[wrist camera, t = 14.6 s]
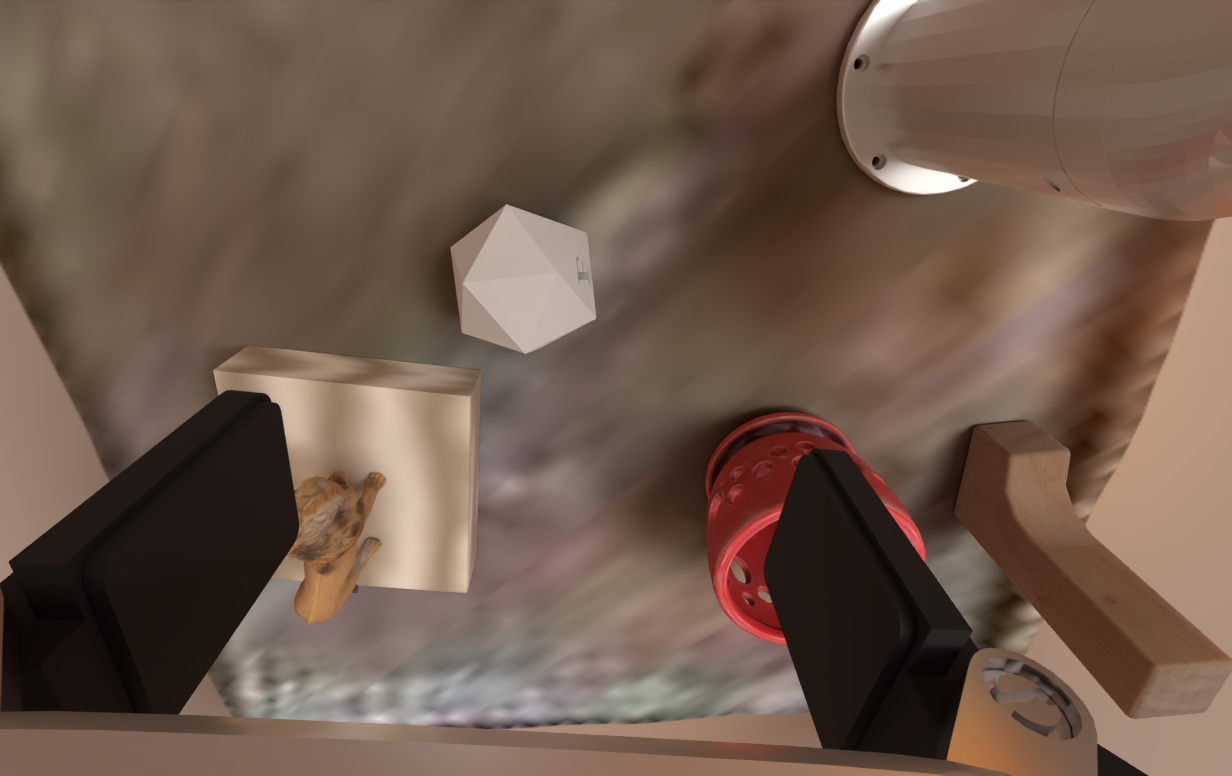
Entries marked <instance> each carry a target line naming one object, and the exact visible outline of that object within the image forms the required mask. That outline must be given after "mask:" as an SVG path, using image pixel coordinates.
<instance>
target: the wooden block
mask: <svg viewBox="0 0 1232 776" xmlns="http://www.w3.org/2000/svg"><path fill="white" fill-rule="evenodd" d="M1069 461H1070V451H1069V450H1068V449H1067V448H1066V447H1065V446H1063V445H1062V444H1061V443H1059V442H1058V441H1057V440H1055V439H1054V438H1053V437H1051V436H1050V435H1049V434H1047V433H1046V432H1045V431H1043V430H1042V429H1041V428H1039V427H1038V426H1037V425H1035V424H1034V423H1033V422H1030V421H1017V422H1007V423H997V424H986V425H978V426H975V428H974V430H973V434H972V438H971V442H970V447H969V451H968V455H967V459H966V463H965V468H964V472H963V476H962V480H961V485H960V489H959V493H958V497H957V501H956V506H955V510H954V512H955V515H956V517H957V518H958V519H959V520H960V521H961V522H962V524H963V525H964V526H965V527H966V528H967V529H968V531H969V532H970V533H971V534H972V535H973V536H974V538H975V539H976V540H977V541H978V542H979V543H980V545H981V546H982V547H983V548H984V549H985V550H986V552H987V553H988V554H989V555H990V556H991V558H992V559H993V560H994V561H995V562H996V563H997V565H998V566H999V567H1000V568H1001V569H1002V570H1003V572H1004V573H1005V574H1006V575H1007V576H1008V577H1009V579H1010V580H1011V581H1012V582H1013V583H1014V584H1015V586H1016V587H1017V588H1018V589H1019V590H1020V591H1021V593H1022V594H1023V595H1024V596H1025V597H1026V598H1027V600H1028V601H1029V602H1030V603H1031V604H1032V606H1033V607H1034V608H1035V609H1036V610H1037V611H1038V613H1039V614H1040V615H1041V616H1042V617H1043V618H1044V620H1045V621H1046V622H1047V623H1048V624H1049V625H1050V626H1051V628H1052V629H1053V630H1054V631H1055V632H1056V634H1058V636H1059V637H1060V638H1061V639H1062V641H1063V642H1064V643H1065V644H1066V645H1067V646H1068V648H1069V649H1070V650H1071V651H1072V652H1073V653H1074V655H1075V656H1076V657H1077V658H1078V659H1079V661H1080V662H1081V663H1082V664H1083V665H1084V666H1085V667H1086V669H1087V670H1088V671H1089V672H1090V673H1091V675H1092V676H1093V677H1094V678H1095V679H1096V680H1097V682H1098V683H1099V684H1100V685H1101V686H1102V687H1103V689H1104V690H1105V691H1106V692H1107V693H1108V694H1109V696H1110V697H1111V698H1112V699H1113V700H1114V701H1115V703H1116V704H1117V705H1118V706H1119V707H1120V708H1121V710H1122V711H1123V712H1124V713H1125V714H1126V715H1127V716H1129V717H1130V718H1134V719H1137V718H1149V717H1160V716H1172V715H1182V714H1195V713H1202V712H1205V711H1206V710H1207V709H1208V708H1209V706H1210V705H1211V703H1212V702H1213V700H1214V698H1215V697H1216V695H1217V694H1218V692H1219V691H1220V689H1221V687H1222V686H1223V684H1224V683H1225V681H1226V680H1227V678H1228V676H1229V675H1230V673H1231V672H1232V659H1231V658H1230V657H1229V656H1228V655H1227V654H1226V653H1224V652H1223V651H1222V650H1221V649H1220V648H1219V647H1218V646H1217V645H1215V644H1214V643H1213V642H1212V641H1211V640H1210V639H1209V638H1208V637H1206V636H1205V635H1204V634H1203V633H1202V632H1201V631H1200V630H1199V629H1197V628H1196V627H1195V626H1194V625H1193V624H1192V623H1191V622H1190V621H1188V620H1187V619H1186V618H1185V617H1184V616H1183V615H1182V614H1180V613H1179V612H1178V611H1177V610H1176V609H1175V608H1174V607H1173V606H1171V605H1170V604H1169V603H1168V602H1167V601H1166V600H1164V599H1163V598H1162V597H1161V596H1160V595H1159V594H1158V593H1157V592H1156V591H1155V590H1153V589H1152V588H1151V587H1150V586H1149V585H1148V584H1147V583H1145V582H1144V581H1143V580H1142V579H1141V578H1140V577H1139V576H1137V574H1135V573H1134V572H1133V571H1132V570H1131V569H1130V568H1129V567H1127V566H1126V565H1125V564H1124V563H1123V562H1122V561H1121V560H1120V559H1118V558H1117V557H1116V556H1115V555H1114V554H1113V553H1112V552H1110V551H1109V550H1108V549H1107V548H1106V547H1105V546H1104V545H1103V544H1102V543H1100V542H1099V541H1098V540H1097V539H1096V538H1094V536H1093V535H1092V534H1091V533H1090V532H1089V530H1088V529H1087V528H1086V526H1085V525H1084V524H1083V523H1082V521H1081V520H1080V519H1079V517H1078V516H1077V515H1076V514H1075V512H1074V509H1073V506H1072V503H1071V500H1070V497H1069V494H1068V491H1067V488H1066V480H1067V473H1068V467H1069Z"/></svg>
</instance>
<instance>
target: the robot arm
mask: <svg viewBox="0 0 1232 776" xmlns="http://www.w3.org/2000/svg"><path fill="white" fill-rule="evenodd" d="M856 59H857V60H858V61H859V66H858V68H857V69H855V68H854V61H855V60H856ZM837 117H838V122H839V127H840V132H841V136H842V138H843V141H844V143H845V145H846V148H847V150H848V153H849V154H850V156H851V157H852V158H853V160H854V161H855V163H856V164H857V165H858V167H859V168H860V169H861V170H862V171H863V172H864V173H866V174H867V175H868V176H869V177H870V178H871V179H872V180H874V181H876V182H878V183H880V184H882V185H883V186H885V187H887V188H890V189H893V190H896V191H899V192H902V193H908V194H915V195H937V194H944V193H948V192H952V191H956V190H960V189H962V188H965V187H967V186H969V185H971V184H974V183H976V182H978V181H983V182H988V183H992V184H997V185H1001V186H1006V187H1010V188H1015V189H1019V190H1024V191H1028V192H1033V193H1037V194H1042V195H1046V196H1051V197H1055V198H1060V199H1064V200H1069V201H1074V202H1078V203H1083V204H1087V205H1092V206H1096V207H1101V208H1105V209H1110V210H1114V211H1119V212H1123V213H1129V214H1134V215H1139V216H1143V217H1149V218H1156V219H1165V220H1176V221H1197V220H1209V219H1218V218H1224V217H1231V216H1232V0H873V2H872V3H871V4H870V6H869V7H868V9H867V10H866V12H865V13H864V15H863V16H862V17H861V19H860V20H859V22H858V24H857V26H856V28H855V31H854V33H853V35H852V37H851V39H850V41H849V43H848V45H847V48H846V51H845V55H844V58H843V61H842V64H841V67H840V73H839V79H838V86H837ZM874 157H876V162H875V163H874V164H873V165H872V160H873V158H874ZM298 532H299V517H298V511H297V505H296V499H295V492H294V486H293V480H292V474H291V467H290V461H289V455H288V449H287V443H286V436H285V430H284V424H283V418H282V412H281V408H280V406H279V404H277V403H275V402H271V399H270V397H269V396H268V395H267V394H265V393H258V392H248V391H238V390H226V391H225V392H223V393H221V394H220V395H219V396H218V397H216V398H215V399H214V400H212V401H211V402H210V403H209V404H207V405H206V406H205V407H204V408H202V409H201V410H200V411H199V412H197V413H196V414H195V415H193V416H192V417H191V418H190V419H188V420H187V421H186V422H185V423H183V424H182V425H181V426H180V427H178V428H177V429H176V430H175V431H173V432H172V433H171V434H169V435H168V436H167V437H166V438H164V439H163V440H162V441H161V442H159V443H158V444H157V445H156V446H154V447H153V448H152V449H150V450H149V451H148V452H147V453H145V454H144V455H143V456H142V457H140V458H139V459H138V460H137V461H135V462H134V463H133V464H131V465H130V466H129V467H128V468H126V469H125V470H124V471H123V472H121V473H120V474H119V475H118V476H116V477H115V478H114V479H113V480H111V481H110V482H109V483H107V484H106V485H105V486H104V487H102V488H101V489H100V490H99V491H97V492H96V493H95V494H94V495H92V496H91V497H90V498H89V499H87V500H86V501H85V502H83V503H82V504H81V505H80V506H78V507H77V508H76V509H75V510H73V511H72V512H71V513H69V514H68V515H67V516H66V517H65V518H63V519H62V520H61V521H59V522H58V523H57V524H56V525H54V526H53V527H52V528H51V529H49V530H48V531H47V532H46V533H44V534H43V535H42V536H40V537H39V538H38V539H37V540H35V541H34V542H33V543H32V544H31V545H29V546H28V547H26V548H25V549H24V550H23V551H21V552H20V553H19V554H18V555H16V556H15V557H14V558H13V559H11V560H10V561H9V564H10V566H11V568H12V570H13V573H12V574H11V575H10V576H8V577H7V578H6V579H5V580H3V581H2V582H1V583H0V776H1148V775H1146V774H1145V773H1143V772H1142V771H1140V770H1138V769H1137V768H1135V767H1134V766H1132V765H1130V764H1129V763H1127V762H1126V761H1124V760H1123V759H1121V758H1119V757H1118V756H1116V755H1115V754H1113V753H1111V752H1110V751H1108V750H1107V749H1105V748H1103V747H1102V746H1100V745H1099V744H1097V732H1096V728H1095V724H1094V720H1093V718H1092V716H1091V714H1090V713H1089V711H1088V709H1087V707H1086V706H1085V704H1084V703H1083V701H1082V700H1081V699H1080V698H1079V697H1078V696H1077V695H1076V693H1075V692H1074V691H1073V690H1072V689H1071V688H1070V687H1069V686H1068V685H1067V684H1066V683H1065V682H1063V681H1062V680H1061V679H1060V678H1059V677H1058V676H1056V675H1055V674H1054V673H1053V672H1051V671H1050V670H1048V669H1047V668H1045V667H1043V666H1042V665H1040V664H1039V663H1037V662H1035V661H1034V660H1032V659H1029V658H1027V657H1025V656H1023V655H1021V654H1018V653H1016V652H1012V651H1008V650H1004V649H1000V648H985V649H983V650H980V651H979V650H978V649H977V647H976V646H975V644H974V643H973V641H972V640H971V638H970V635H971V633H972V632H973V631H972V629H971V628H970V626H969V625H968V623H967V622H966V621H965V619H964V618H963V616H962V615H961V613H960V612H959V611H958V609H957V608H956V606H955V605H954V603H953V602H952V601H951V599H950V598H949V596H948V595H947V593H946V592H945V591H944V589H943V588H942V586H941V585H940V583H939V582H938V581H937V579H936V578H935V576H934V575H933V573H932V572H931V571H930V569H929V568H928V566H927V565H926V563H925V562H924V561H923V559H922V558H921V556H920V555H919V553H918V552H917V551H916V549H915V548H914V546H913V545H912V543H911V542H910V541H909V539H908V538H907V536H906V535H905V533H904V532H903V531H902V529H901V528H900V526H899V525H898V523H897V522H896V521H895V519H894V518H893V516H892V515H891V513H890V512H889V511H888V509H887V508H886V506H885V505H884V503H883V502H882V501H881V499H880V498H879V496H878V495H877V493H876V492H875V491H874V489H873V488H872V486H871V485H870V483H869V482H868V481H867V479H866V478H865V476H864V475H863V473H862V472H861V471H860V469H859V468H858V466H857V465H856V463H855V462H854V461H853V459H852V458H851V456H850V455H849V454H848V453H847V452H846V451H841V450H831V449H821V448H814V449H812V450H811V451H810V453H809V455H802V456H801V457H800V459H799V461H798V464H797V467H796V470H795V473H794V476H793V479H792V482H791V485H790V488H789V491H788V493H787V496H786V499H785V502H784V505H783V508H782V511H781V514H780V517H779V520H778V523H777V526H776V529H775V531H774V534H773V537H772V540H771V543H770V546H769V549H768V552H767V555H766V558H765V561H764V579H765V582H766V585H767V588H768V591H769V594H770V597H771V600H772V603H773V606H774V608H775V611H776V614H777V617H778V620H779V623H780V626H781V629H782V632H783V635H784V638H785V640H786V643H787V646H788V649H789V652H790V655H791V658H792V661H793V664H794V667H795V670H796V672H797V675H798V678H799V681H800V684H801V687H802V690H803V693H804V696H805V699H806V701H807V704H808V707H809V710H810V713H811V716H812V719H813V722H814V725H815V728H816V731H817V733H818V736H819V739H820V742H821V745H822V748H809V747H797V746H782V745H764V744H763V745H762V744H746V743H730V742H728V743H727V742H712V741H694V740H677V739H660V738H641V737H624V736H607V735H587V734H569V733H550V732H531V731H511V730H493V729H473V728H453V727H434V726H414V725H394V724H373V723H351V722H330V721H308V720H286V719H265V718H243V717H221V716H198V715H178V714H179V713H180V712H181V710H182V709H183V707H184V706H185V704H186V703H187V701H188V700H189V698H190V697H191V695H192V694H193V692H194V691H195V690H196V688H197V686H198V685H199V684H200V682H201V681H202V679H203V678H204V676H205V675H206V673H207V672H208V670H209V669H210V667H211V666H212V664H213V663H214V662H215V660H216V659H217V657H218V656H219V654H220V653H221V651H222V650H223V648H224V647H225V645H226V644H227V642H228V641H229V639H230V638H231V636H232V635H233V633H234V632H235V631H236V629H237V628H238V626H239V625H240V623H241V622H242V620H243V619H244V617H245V616H246V614H247V613H248V611H249V610H250V608H251V607H252V605H253V604H254V603H255V601H256V600H257V598H258V597H259V595H260V594H261V592H262V591H263V589H264V588H265V586H266V585H267V583H268V582H269V580H270V579H271V577H272V576H273V574H274V573H275V572H276V570H277V569H278V567H279V566H280V564H281V563H282V561H283V560H284V558H285V557H286V555H287V554H288V552H289V551H290V549H291V548H292V546H293V545H294V543H295V541H296V539H297V536H298Z"/></svg>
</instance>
